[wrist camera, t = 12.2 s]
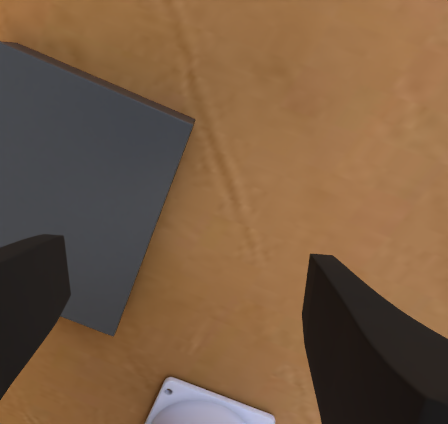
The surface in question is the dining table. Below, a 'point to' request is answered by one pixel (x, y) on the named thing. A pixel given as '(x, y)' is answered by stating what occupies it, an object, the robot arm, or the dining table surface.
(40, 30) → the dining table surface
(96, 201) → the dark grey rectangular slab
